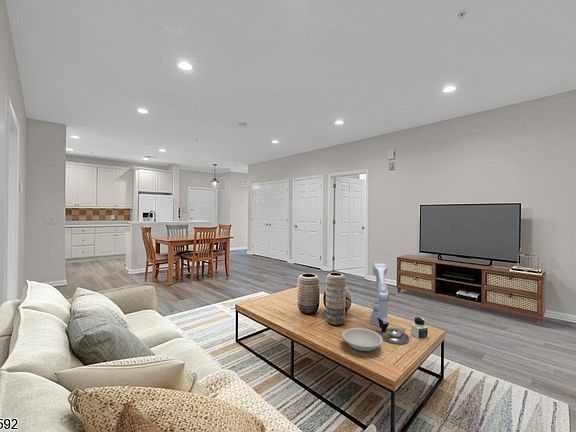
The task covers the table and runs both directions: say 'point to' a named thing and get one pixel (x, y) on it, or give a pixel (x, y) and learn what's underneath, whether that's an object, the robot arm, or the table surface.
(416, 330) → the medicine bottle
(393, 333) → the ring nut
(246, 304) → the table surface
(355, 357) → the table surface
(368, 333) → the soup bowl
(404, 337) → the flange plate
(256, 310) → the table surface
